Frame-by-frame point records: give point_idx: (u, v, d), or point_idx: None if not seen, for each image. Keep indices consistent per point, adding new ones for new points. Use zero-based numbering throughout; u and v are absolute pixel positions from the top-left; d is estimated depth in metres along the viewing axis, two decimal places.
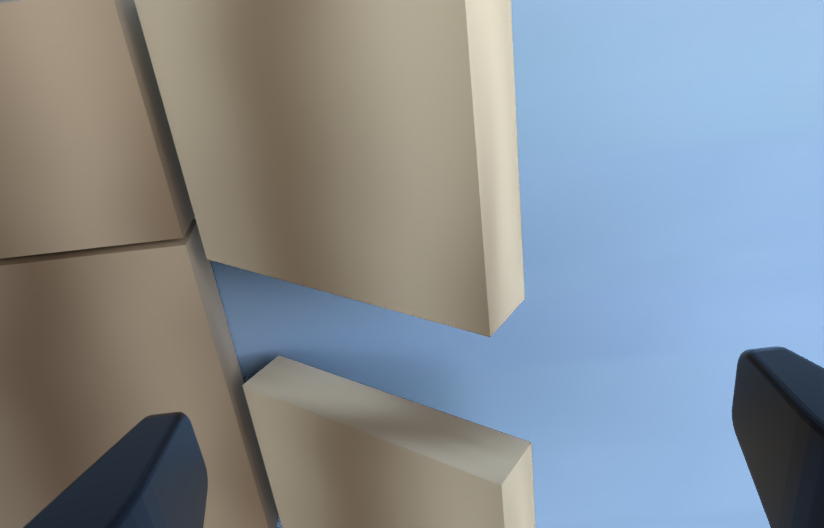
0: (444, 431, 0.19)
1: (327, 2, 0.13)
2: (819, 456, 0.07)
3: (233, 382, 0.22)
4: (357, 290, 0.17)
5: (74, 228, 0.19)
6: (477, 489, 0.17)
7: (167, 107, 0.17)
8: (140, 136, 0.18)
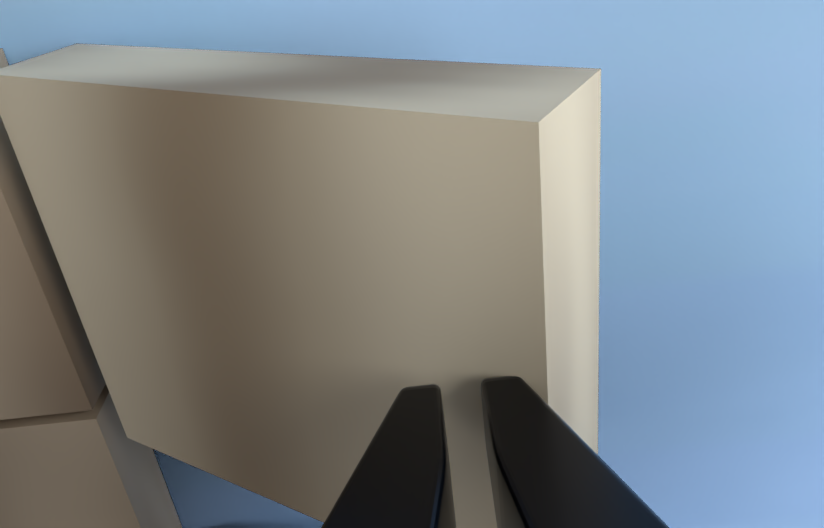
0: None
1: (288, 122, 0.08)
2: (503, 489, 0.07)
3: None
4: None
5: None
6: None
7: (54, 241, 0.12)
8: (19, 280, 0.12)
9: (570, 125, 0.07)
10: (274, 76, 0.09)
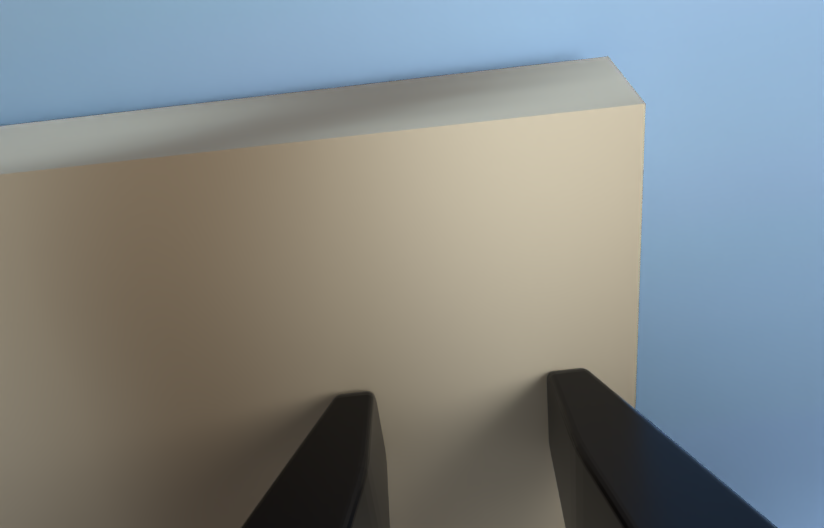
0: None
1: (330, 163, 0.07)
2: (583, 481, 0.07)
3: None
4: None
5: None
6: None
7: None
8: None
9: None
10: (262, 121, 0.07)
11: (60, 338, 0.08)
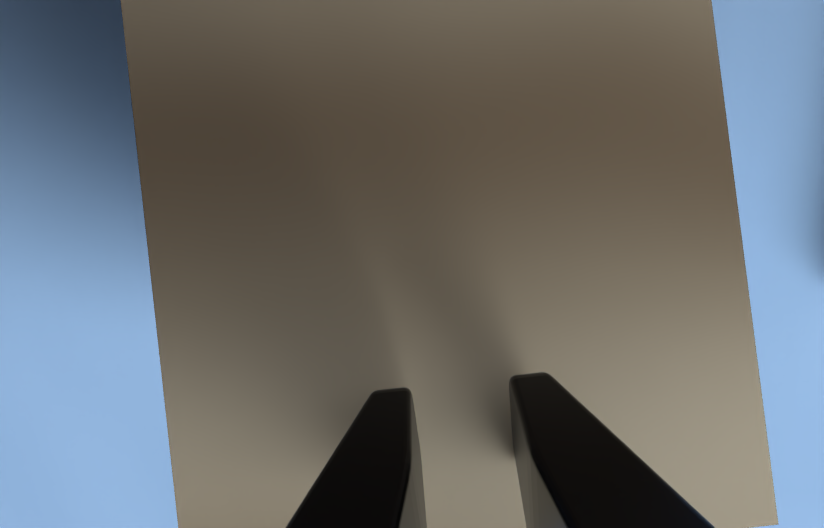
0: None
1: None
2: (537, 485, 0.07)
3: None
4: None
5: None
6: (728, 468, 0.08)
7: None
8: None
9: None
10: None
11: None
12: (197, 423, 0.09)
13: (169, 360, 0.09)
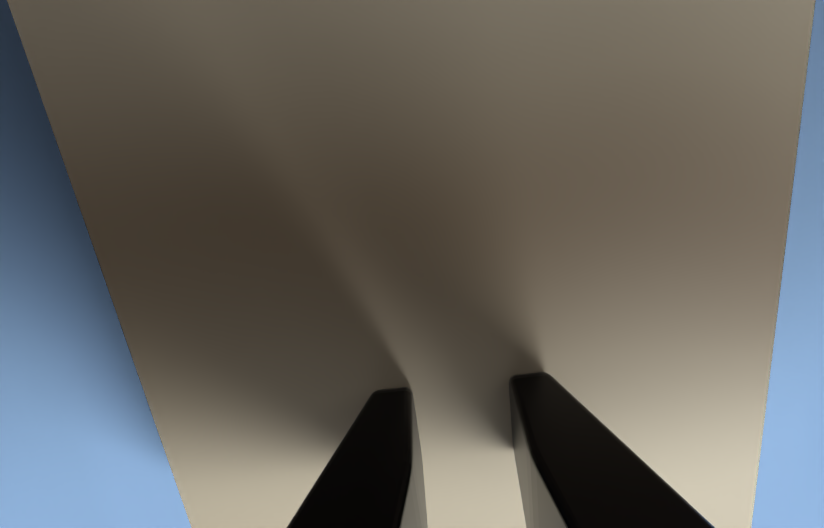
0: None
1: None
2: (537, 485, 0.07)
3: None
4: None
5: None
6: (714, 507, 0.09)
7: None
8: None
9: None
10: None
11: None
12: (208, 487, 0.09)
13: (171, 438, 0.08)
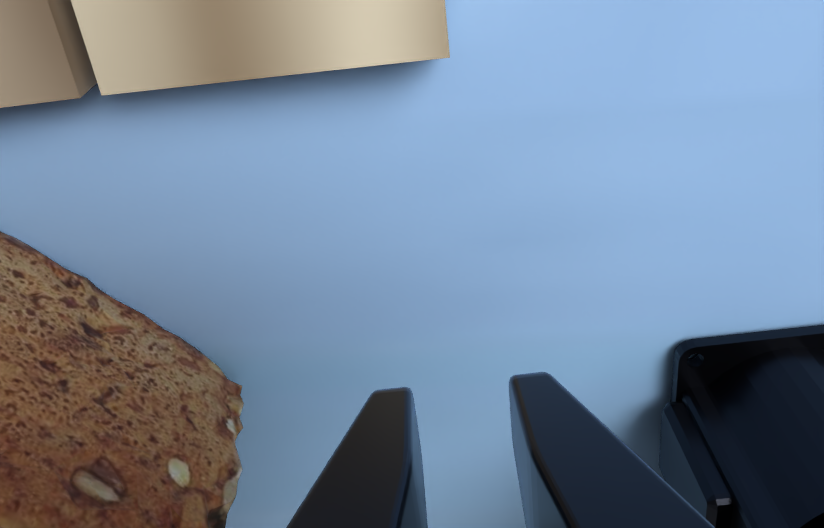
0: None
1: None
2: (537, 485, 0.07)
3: None
4: None
5: None
6: None
7: None
8: None
9: None
10: None
11: None
12: (368, 51, 0.17)
13: (337, 65, 0.17)
